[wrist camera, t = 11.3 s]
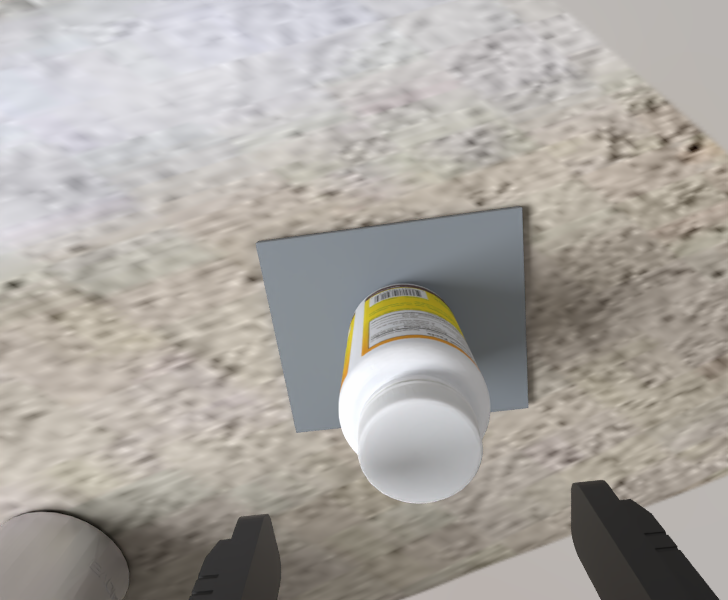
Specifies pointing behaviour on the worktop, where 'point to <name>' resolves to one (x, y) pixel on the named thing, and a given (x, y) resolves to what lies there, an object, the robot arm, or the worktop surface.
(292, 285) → the mat
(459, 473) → the supplement bottle
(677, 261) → the worktop surface
